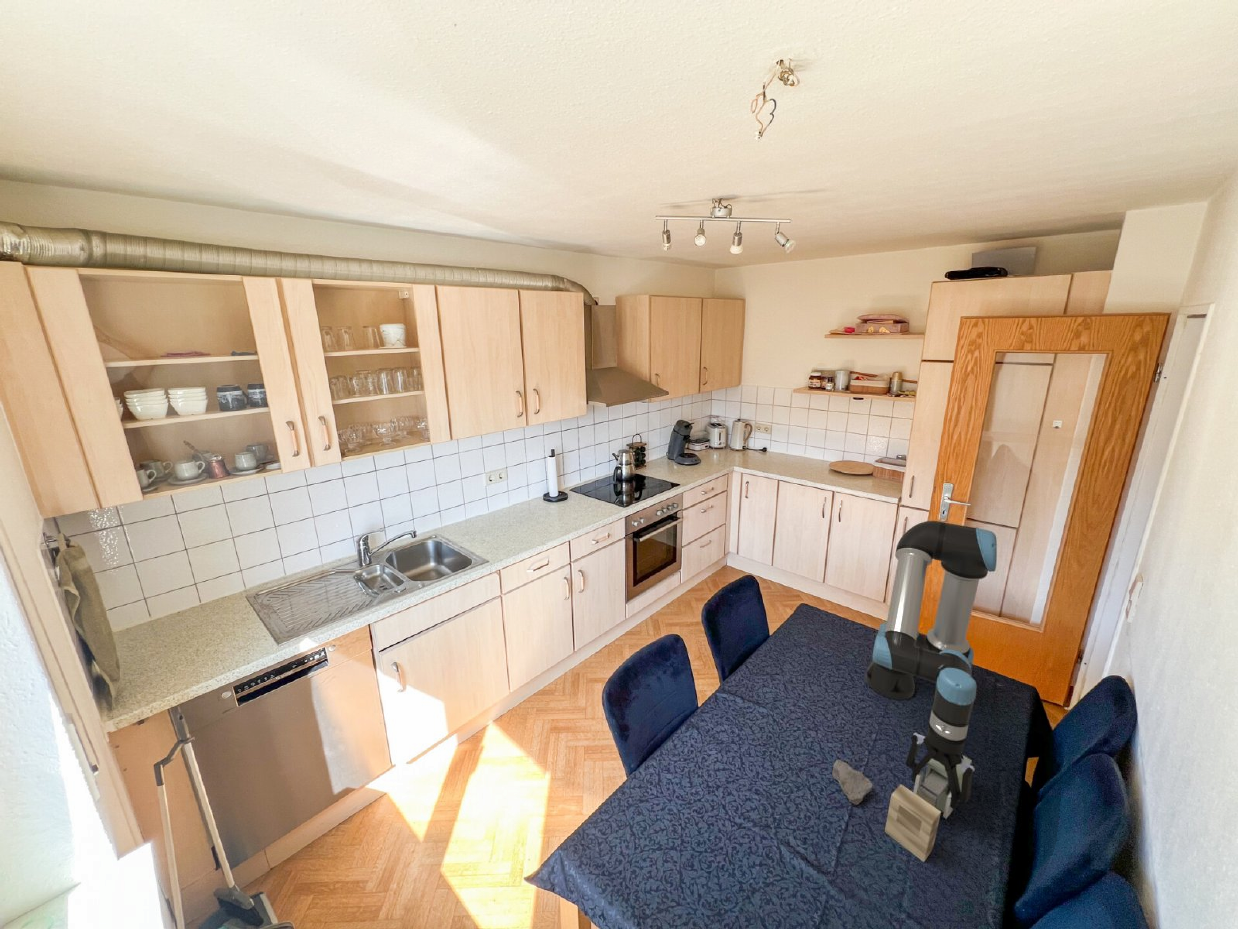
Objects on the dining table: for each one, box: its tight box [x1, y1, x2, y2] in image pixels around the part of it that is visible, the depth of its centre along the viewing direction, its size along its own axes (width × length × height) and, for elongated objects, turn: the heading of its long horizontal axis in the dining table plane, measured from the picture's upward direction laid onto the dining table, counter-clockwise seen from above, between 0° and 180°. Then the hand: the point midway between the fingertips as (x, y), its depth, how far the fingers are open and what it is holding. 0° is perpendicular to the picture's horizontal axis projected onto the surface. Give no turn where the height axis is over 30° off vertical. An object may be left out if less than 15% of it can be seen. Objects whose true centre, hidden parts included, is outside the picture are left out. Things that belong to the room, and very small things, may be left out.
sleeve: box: [923, 755, 973, 816], centre depth 129 cm, size 10×7×11 cm, turn 127°
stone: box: [831, 759, 874, 806], centre depth 131 cm, size 8×10×6 cm
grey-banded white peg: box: [917, 770, 950, 809], centre depth 125 cm, size 18×4×4 cm, turn 127°
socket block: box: [884, 783, 942, 863], centre depth 117 cm, size 5×9×12 cm, turn 37°
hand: (931, 803), depth 125 cm, fingers open, 6 cm apart
